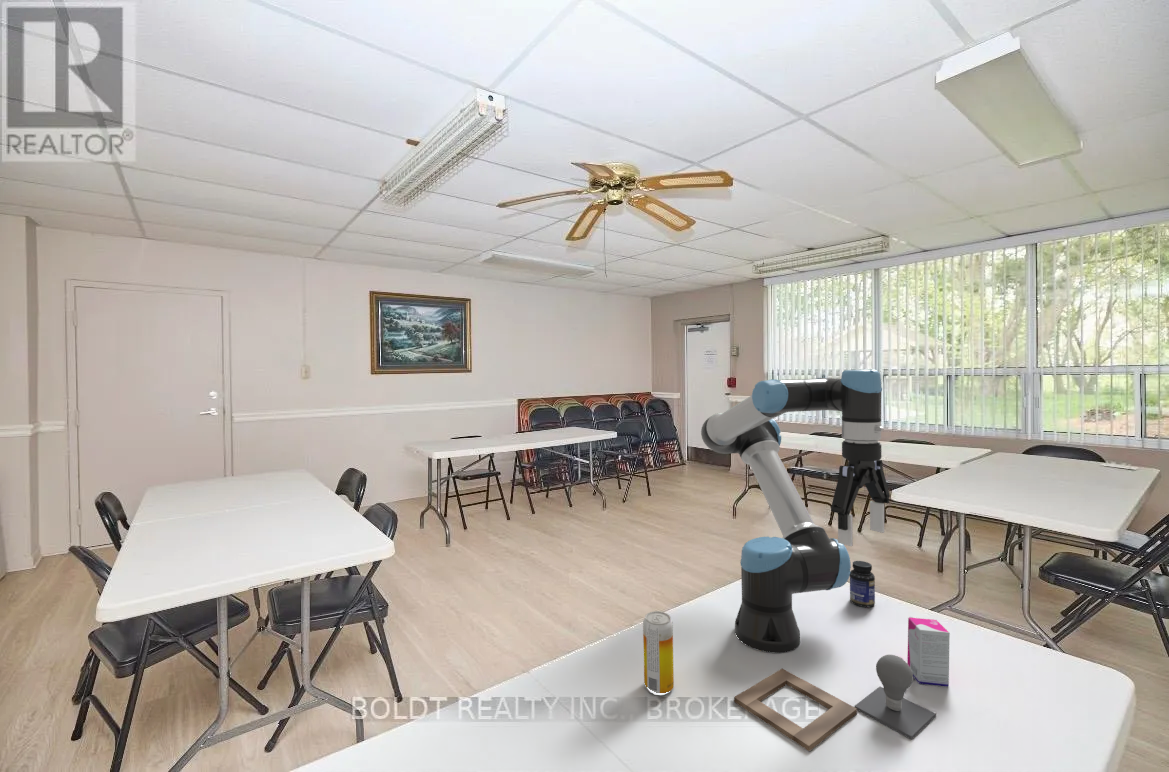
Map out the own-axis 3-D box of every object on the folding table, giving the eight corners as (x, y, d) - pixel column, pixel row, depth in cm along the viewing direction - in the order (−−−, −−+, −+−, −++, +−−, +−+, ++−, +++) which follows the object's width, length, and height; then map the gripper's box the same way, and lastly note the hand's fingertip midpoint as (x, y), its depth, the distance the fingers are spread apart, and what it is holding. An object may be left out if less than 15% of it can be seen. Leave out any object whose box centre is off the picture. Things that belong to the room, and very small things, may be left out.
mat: (854, 708, 97) (854, 705, 97) (879, 689, 102) (879, 686, 102) (911, 739, 88) (911, 736, 88) (935, 716, 94) (935, 713, 94)
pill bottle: (874, 610, 135) (874, 569, 135) (848, 604, 138) (848, 565, 138) (875, 600, 140) (875, 562, 140) (851, 595, 144) (850, 558, 143)
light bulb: (918, 712, 94) (920, 660, 94) (900, 723, 92) (901, 669, 91) (886, 694, 100) (887, 645, 99) (868, 704, 97) (869, 653, 97)
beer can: (676, 683, 106) (675, 613, 105) (669, 700, 100) (668, 627, 100) (649, 676, 108) (648, 608, 108) (640, 693, 103) (639, 621, 102)
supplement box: (950, 687, 102) (950, 632, 102) (918, 684, 104) (918, 630, 103) (936, 670, 108) (936, 618, 108) (906, 668, 109) (906, 616, 109)
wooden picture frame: (733, 701, 99) (733, 696, 99) (782, 672, 108) (782, 668, 108) (809, 751, 86) (809, 745, 86) (857, 713, 95) (857, 708, 95)
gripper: (848, 449, 98) (848, 555, 99) (906, 436, 112) (906, 530, 113) (812, 444, 104) (813, 545, 105) (872, 433, 119) (872, 522, 119)
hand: (861, 537), depth 109 cm, fingers open, 13 cm apart
